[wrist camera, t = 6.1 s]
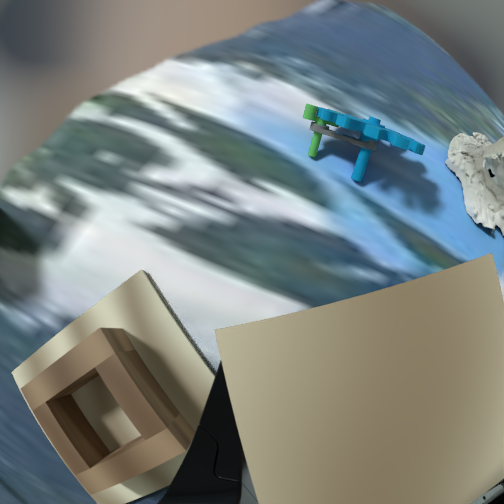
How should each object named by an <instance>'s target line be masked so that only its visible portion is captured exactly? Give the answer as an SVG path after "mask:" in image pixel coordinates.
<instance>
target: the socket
mask: <svg viewBox="0 0 504 504" xmlns="http://www.w3.org/2000/svg"><path fill="white" fill-rule="evenodd" d="M12 375H13V377H14V379H15V381H16V383H17V385H18V387H19V389H20V391H21V393H22V395H23V397H24V399H25V401H26V402H27V404H28V406H29V408H30V410H31V411H32V413H33V415H34V417H35V418H36V420H37V422H38V423H39V425H40V427H41V428H42V430H43V432H44V433H45V435H46V436H47V438H48V439H49V441H50V443H51V444H52V446H53V447H54V449H55V450H56V451H57V453H58V454H59V456H60V457H61V459H62V460H63V461H64V463H65V464H66V465H67V467H68V468H69V469H70V471H71V472H72V473H73V475H74V476H75V477H76V479H77V480H78V481H79V482H80V484H81V485H82V486H83V487H84V488H85V490H86V491H87V492H88V493H89V494H90V496H91V497H92V498H93V499H94V500H95V501H96V502H97V503H98V504H125V503H128V502H130V501H133V500H136V499H138V498H141V497H143V496H145V495H148V494H150V493H153V492H155V491H157V490H160V489H162V488H164V487H166V486H168V485H170V484H171V482H172V480H173V478H174V477H175V475H176V473H177V471H178V469H179V467H180V465H181V464H182V462H183V460H184V458H185V456H186V453H187V451H188V449H189V447H190V445H191V442H192V440H193V437H194V435H195V432H196V429H197V426H198V425H200V424H199V421H200V418H201V415H202V412H203V409H204V407H205V404H206V401H207V398H208V395H209V392H210V390H211V387H212V384H213V381H214V378H215V375H214V373H213V372H212V371H211V369H210V368H209V367H208V365H207V364H206V363H205V361H204V360H203V359H202V357H201V356H200V354H199V353H198V352H197V350H196V349H195V347H194V346H193V345H192V343H191V342H190V340H189V339H188V338H187V336H186V335H185V333H184V332H183V330H182V329H181V327H180V326H179V324H178V323H177V322H176V320H175V319H174V317H173V316H172V314H171V313H170V311H169V309H168V308H167V306H166V305H165V303H164V302H163V300H162V299H161V297H160V296H159V294H158V292H157V291H156V289H155V288H154V286H153V285H152V283H151V281H150V280H149V278H148V276H147V275H146V273H145V272H144V270H140V271H139V272H137V273H136V274H135V275H133V276H132V277H131V278H129V279H128V280H127V281H125V282H124V283H123V284H121V285H120V286H119V287H117V288H116V289H115V290H113V291H112V292H111V293H109V294H108V295H107V296H105V297H104V298H103V299H101V300H100V301H99V302H98V303H96V304H95V305H94V306H92V307H91V308H90V309H88V310H87V311H86V312H85V313H83V314H82V315H81V316H79V317H78V318H77V319H76V320H74V321H73V322H72V323H71V324H69V325H68V326H67V327H66V328H64V329H63V330H62V331H61V332H59V333H58V334H57V335H56V336H54V337H53V338H52V339H51V340H50V341H48V342H47V343H46V344H45V345H43V346H42V347H41V348H40V349H39V350H37V351H36V352H35V353H34V354H33V355H31V356H30V357H29V358H28V359H27V360H26V361H24V362H23V363H22V364H21V365H20V366H18V367H17V368H16V369H15V370H14V371H13V372H12Z"/></svg>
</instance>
